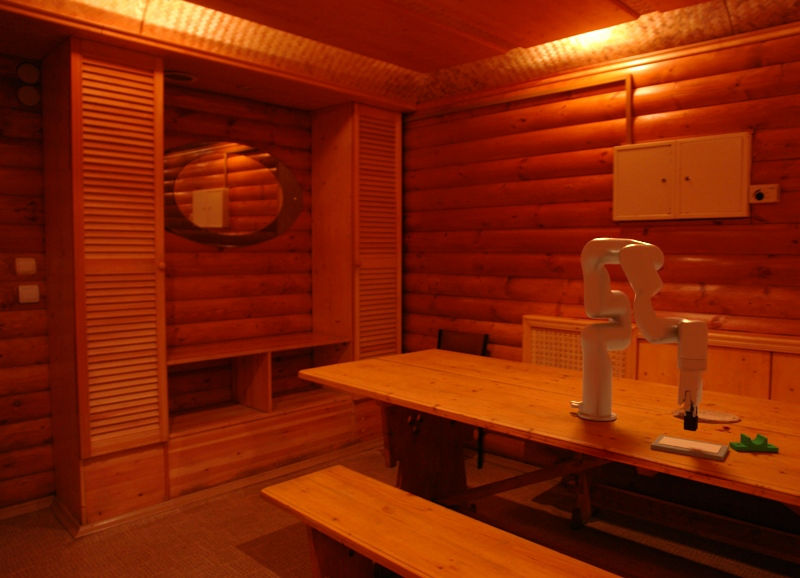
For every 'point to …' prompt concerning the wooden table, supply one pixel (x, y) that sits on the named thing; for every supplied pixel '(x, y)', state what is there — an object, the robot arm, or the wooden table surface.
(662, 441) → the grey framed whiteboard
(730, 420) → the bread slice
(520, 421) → the wooden table surface
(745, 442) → the pipe clamp
